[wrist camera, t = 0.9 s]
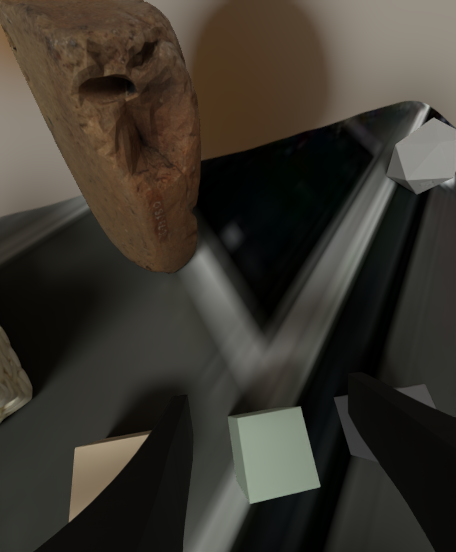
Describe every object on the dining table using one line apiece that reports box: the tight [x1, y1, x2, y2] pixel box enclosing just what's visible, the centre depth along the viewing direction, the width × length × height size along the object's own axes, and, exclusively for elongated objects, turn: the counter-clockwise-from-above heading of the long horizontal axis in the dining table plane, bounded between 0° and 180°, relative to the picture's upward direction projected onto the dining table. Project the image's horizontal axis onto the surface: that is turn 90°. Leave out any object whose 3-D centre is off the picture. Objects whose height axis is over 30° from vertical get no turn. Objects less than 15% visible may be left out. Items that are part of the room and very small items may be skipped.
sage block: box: [228, 407, 320, 504], centre depth 20 cm, size 4×4×6 cm
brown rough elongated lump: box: [0, 0, 201, 274], centre depth 21 cm, size 11×8×20 cm
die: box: [386, 118, 456, 194], centre depth 36 cm, size 8×9×10 cm
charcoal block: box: [334, 384, 436, 463], centre depth 21 cm, size 4×4×6 cm
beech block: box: [69, 430, 152, 522], centre depth 18 cm, size 4×4×6 cm
